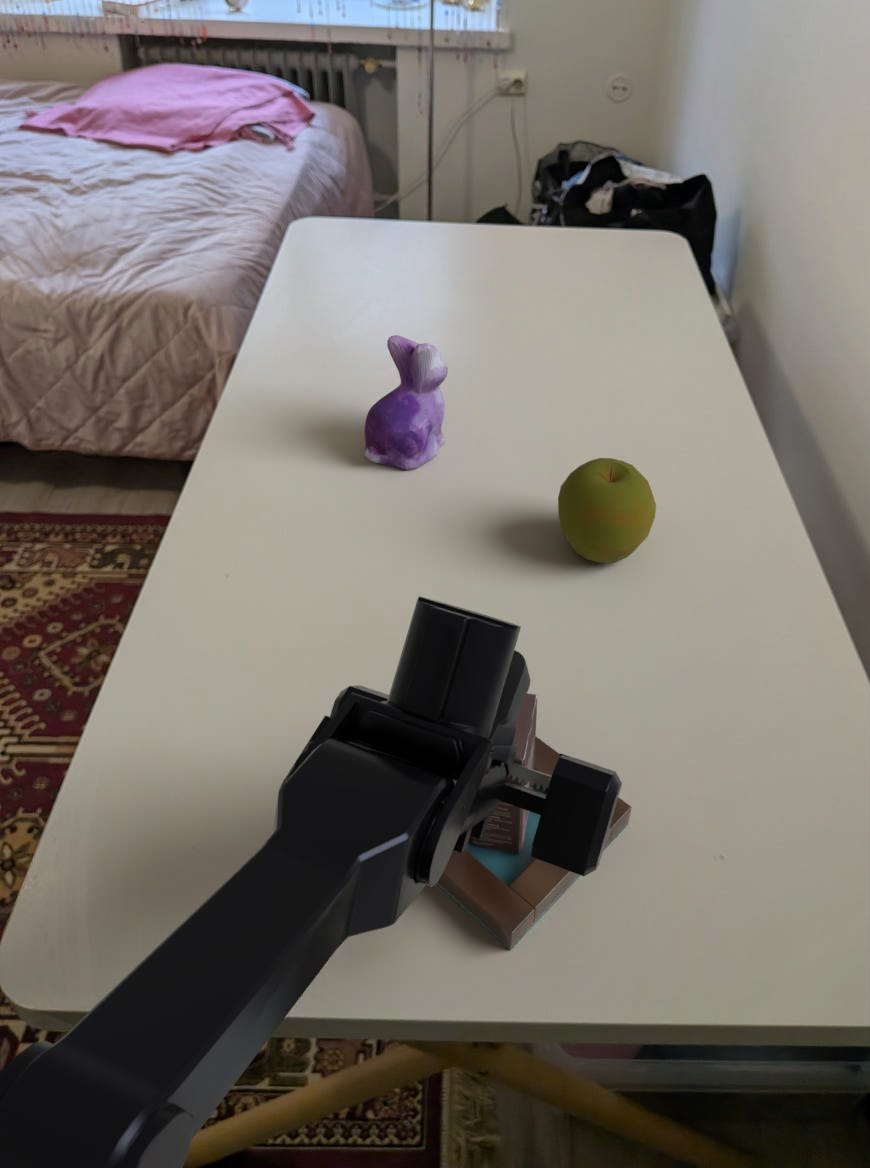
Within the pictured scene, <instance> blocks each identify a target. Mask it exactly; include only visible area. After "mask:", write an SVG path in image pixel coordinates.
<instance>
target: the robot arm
mask: <svg viewBox="0 0 870 1168" xmlns="http://www.w3.org/2000/svg"><path fill="white" fill-rule="evenodd" d="M521 628H522V626H520V625H518V624H515V623H513V622H509V621H506V620H503V619H500V618H497V617H494V616H491V615H487V614H485V613H484V614H483V613H480V612H477V611H473V610H470V609H468V608H464V607H461V606H457V605H453V604H449V603H446V602H442V601H439V600H434V599H431V598H427V597H424V596H418V598H417V599H416V603H415V607H414V610H413V612H412V616H411V620H410V623H409V626H408V629H407V632H406V636H405V639H404V643H403V646H402V650H401V653H400V656H399V659H398V663H397V667H396V669H395V673H394V677H393V680H392V683H391V686H390V690H389V694H387V693H385V692H381V691H379V690H375V689H372V688H370V687H367V686H364V685H361V684H360V685H359V684H358V685H357V684H356V685H349V686H347V687H345V688H344V689H343V690H341V691H340V692H339V693H338V695H337V697H336V698H335V700H334V703H333V705H332V708H331V712H330V715H329V716H328V715H326V714H325V715H324V716H323V717H322V720H321V721H320V723H319V724H318V726H317V727H316V729H315V730H314V732H313V734H312V735H311V737H310V739H309V740H308V741H307V743H306V745H305V746H304V748H303V749H302V751H301V752H300V754H299V756H298V757H297V758H296V760H295V762H294V764H293V765H292V767H291V768H290V769H289V771H288V773H287V775H285V777H284V779H283V781H282V783H281V784H280V787H279V789H278V791H277V792H278V793H277V800H276V807H275V815H274V820H273V829H272V834H270V836H269V837H268V838H267V839H266V840H265V841H264V843H263V844H262V845H261V847H260V848H259V849H258V850H256V851H255V852H254V853H253V855H251V856H250V857H249V858H248V859H247V860H246V861H245V862H244V863H243V864H242V865H241V866H240V867H239V868H238V869H236V871H235V872H233V873H232V875H230V876H229V878H227V879H226V880H225V881H224V882H223V883H222V884H221V885H220V886H219V887H218V888H217V889H216V890H215V891H213V893H212V894H211V895H209V896H208V897H207V898H206V899H205V900H204V901H203V902H202V903H201V904H200V905H199V906H198V907H197V908H196V909H195V910H194V911H193V912H192V913H190V914H189V916H187V918H186V919H184V920H183V921H182V922H181V923H180V924H179V925H178V926H177V927H176V928H175V929H174V930H173V931H172V932H170V934H169V935H168V936H167V937H166V938H165V939H163V941H162V942H161V943H160V944H158V946H156V947H155V948H154V949H152V951H151V952H150V953H149V954H148V955H147V956H146V957H145V958H144V959H143V960H141V961H140V962H139V964H137V966H136V967H134V968H133V969H132V970H131V971H130V972H129V973H128V974H127V975H126V976H125V977H124V978H123V979H122V980H121V981H120V982H119V983H117V985H115V986H114V988H112V990H110V991H109V992H108V993H106V995H105V996H104V997H103V998H102V999H101V1000H100V1001H98V1003H97V1004H95V1006H94V1007H92V1009H91V1010H89V1011H88V1012H87V1013H86V1014H84V1016H83V1017H82V1018H81V1019H80V1020H79V1021H78V1022H77V1023H76V1024H75V1025H74V1026H73V1027H71V1029H69V1031H67V1032H66V1033H65V1034H64V1035H63V1036H62V1037H61V1038H60V1039H59V1040H57V1041H56V1042H55V1043H53V1042H50V1041H48V1040H42V1041H39V1042H35V1043H32V1044H30V1045H29V1046H28V1047H26V1048H25V1049H23V1050H22V1051H21V1052H19V1053H18V1054H16V1055H15V1056H14V1057H13V1058H12V1059H11V1060H10V1061H9V1062H8V1063H7V1064H6V1066H5V1067H4V1068H2V1070H1V1072H0V1168H183V1167H184V1165H185V1162H186V1160H187V1157H188V1154H189V1152H190V1148H191V1143H192V1142H193V1140H194V1138H195V1137H196V1136H197V1134H198V1133H199V1132H200V1130H201V1129H202V1128H203V1126H204V1125H205V1124H206V1123H207V1121H208V1120H209V1118H211V1116H212V1114H213V1113H214V1112H215V1111H216V1109H217V1108H218V1106H219V1105H220V1104H221V1103H222V1102H223V1100H224V1098H225V1097H226V1096H227V1094H228V1093H229V1092H230V1091H231V1090H232V1088H233V1087H234V1086H235V1084H236V1083H237V1082H238V1080H239V1079H240V1078H241V1076H242V1075H243V1074H244V1072H245V1071H246V1070H247V1068H248V1067H249V1066H250V1064H251V1063H252V1062H253V1061H254V1059H255V1058H256V1057H257V1055H258V1053H259V1052H260V1051H261V1050H262V1049H263V1047H264V1046H265V1044H266V1043H267V1042H268V1041H269V1039H270V1038H271V1036H273V1034H274V1032H276V1030H277V1029H278V1028H279V1026H280V1025H281V1023H282V1022H283V1021H284V1019H285V1018H286V1017H287V1015H288V1014H289V1013H290V1011H291V1010H292V1009H293V1008H294V1006H295V1005H296V1004H297V1002H298V1001H299V1000H300V998H301V997H302V996H303V995H304V993H305V992H306V990H307V989H308V988H309V986H310V985H311V984H312V982H313V981H314V980H315V978H316V977H317V976H318V975H319V973H320V972H321V970H322V969H323V968H324V967H325V966H326V964H327V963H328V961H329V960H330V959H331V957H332V956H333V955H334V954H335V952H336V951H337V950H338V949H339V948H340V946H341V945H342V944H343V943H344V942H345V941H346V940H347V939H348V938H350V937H354V936H357V935H361V934H365V933H370V932H374V931H377V930H380V929H385V928H387V927H390V926H393V925H394V924H395V923H396V922H397V921H398V920H399V919H400V918H401V916H402V915H403V914H404V913H405V912H406V911H407V909H408V908H409V907H410V906H411V905H412V904H413V903H414V901H415V900H416V899H417V898H418V896H419V895H420V894H421V893H422V891H423V890H424V888H425V886H427V887H430V888H432V887H434V886H435V885H437V884H436V883H437V882H438V881H439V879H440V877H441V875H442V874H443V872H444V870H445V867H446V865H447V863H448V861H449V858H450V856H451V854H452V851H453V850H455V851H458V852H460V853H462V852H463V851H464V850H466V848H467V844H468V841H469V837H470V836H471V837H474V838H477V839H481V838H482V837H483V836H484V833H485V829H486V826H487V822H488V819H489V816H490V815H491V814H492V813H493V812H494V811H495V810H496V808H497V807H498V806H499V804H500V802H501V801H502V802H505V803H508V804H511V805H513V806H516V807H519V808H522V809H525V810H527V811H530V812H533V813H536V814H538V815H541V816H540V819H539V823H538V826H537V830H536V833H535V837H534V840H533V844H532V851H531V857H533V858H536V859H538V860H541V861H544V862H546V863H549V864H552V865H554V866H557V867H560V868H562V869H565V870H568V871H570V872H573V873H576V874H579V875H580V877H581V876H582V877H586V876H587V875H589V874H591V873H593V872H595V871H596V870H597V869H598V868H599V865H600V863H601V860H602V856H603V853H604V851H603V849H604V846H605V842H606V839H607V835H608V832H609V828H610V824H611V821H612V817H613V814H614V810H615V807H616V803H617V800H618V797H619V796H620V792H621V789H622V785H623V783H622V781H621V779H620V776H619V775H618V773H617V771H616V770H612V769H609V768H606V767H604V766H600V765H598V764H594V763H591V762H588V761H586V760H583V759H581V758H577V757H572V756H571V755H570V756H569V755H566V754H563V753H559V754H560V756H559V759H558V762H557V764H556V766H555V769H554V771H553V774H552V776H550V775H547V774H544V773H542V772H539V771H536V770H533V769H530V768H527V767H524V766H521V765H518V764H516V763H513V761H514V758H515V754H516V751H517V748H518V744H519V743H517V742H514V741H513V740H514V737H515V733H516V730H517V727H516V725H515V723H516V721H517V718H518V715H519V712H520V710H521V707H522V704H523V701H524V698H525V696H526V693H528V691H529V689H530V685H531V676H530V673H529V669H528V664H527V662H526V659H525V657H524V655H523V654H522V653H521V652H519V651H517V650H515V649H516V646H517V643H518V638H519V635H520V632H521ZM511 775H512V781H515V779H516V778H518V783H521V781H522V780H524V785H527V783H528V782H530V787H533V786H534V784H536V789H537V790H538V789H539V788H540V786H542V791H543V792H544V791H545V790H546V789H547V788H548V791H547V795H546V794H543V793H540V792H537V791H535V790H532V789H529V788H526V787H523V786H520V785H517V784H515V783H512V782H509V781H507V779H508V778H509V777H510V776H511Z"/></svg>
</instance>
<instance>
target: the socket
mask: <svg viewBox="0 0 870 1168" xmlns="http://www.w3.org/2000/svg"><path fill="white" fill-rule="evenodd" d="M560 754H561V753H559V752H558V751H557V750H556V749H554V748H553V747H551V746H550V745H549V744H547V743H546V742H544V741H543V740H541V739H540V738H539V737H538V736H536V737H535V757H534V770H536V771H539V772H542V773H544V774H547V775H550V776H552V774H553V771H554V769H555V766H556V764H557V762H558V759H559V756H560ZM533 790H535V791H537V792H540V793H543V794H546V795H547V791H548V788H547V789H546V790H545V791H544V792H543V791H542V786H540V788H539V789H538V790H537V789H536V784H534V786H533ZM631 812H632V806H631V805H630V804H628V803H627V802H626V801H624V800H623V798H620V797H619V796H618V800H617V803H616V807H615V810H614V814H613V817H612V821H611V824H610V828H609V832H608V835H607V839H606V842H605V846H604V849H603V852H604V851H605V850H606V849H607V848H608V847H609V846H610V845H611V844H612V843H613V841H615V839H616V838H617V837H618V836H619V835H620V834H621V833H622V832H623V831H624V830H625V829H626V827H627V826H628V825H629V821H630V817H631ZM540 816H541V815H538V814H536V813H533V812H529V817H528V823H527V827H526V832H525V838H524V842H523V847H522V851H521V853H520V854H518V853H510V852H505V851H500V850H495V849H490V848H485V847H480V846H475V845H471V844H469V841H468V844H467V848H466V850H464V851H463V852H462V853H460V852H458V851H455V850H453V851H452V854H451V856H450V858H449V861H448V863H447V865H446V867H445V870H444V872H443V874H442V875H441V877H440V879H439V881H438V882H437V883H436V884H435V885H437V886H438V887H439V888H440V889H441V890H442V891H443V892H445V893H446V894H447V895H448V896H449V897H450V898H451V899H453V901H455V902H456V903H457V904H458V905H459V906H460V907H461V908H463V909H464V910H465V911H466V913H468V914H469V915H470V916H471V917H472V918H474V920H475V921H476V922H478V923H479V924H480V925H481V926H482V927H483V928H484V929H486V930H487V931H488V932H489V933H490V934H491V935H492V936H493V937H494V938H495V939H497V940H498V941H499V942H500V943H501V944H502V945H503V946H504V947H505V948H507V950H509V951H511V950H513V949H514V948H515V946H516V945H517V944H518V943H519V942H520V941H521V940H522V939H523V938H524V937H525V936H526V934H528V933H529V931H530V930H531V929H532V928H534V926H535V925H536V924H537V923H538V922H539V921H540V920H541V919H542V918H543V916H544V915H545V914H547V912H548V911H549V910H550V909H551V908H552V907H553V905H554V904H555V903H556V902H557V901H558V900H559V899H560V898H561V897H562V896H563V895H564V894H565V893H566V891H568V890H569V888H570V887H571V886H573V885H574V883H575V882H576V881H577V880H578V879H579V878H580V877H581V875H579V874H576V873H573V872H570V871H568V870H565V869H562V868H560V867H557V866H554V865H552V864H549V863H546V862H544V861H541V860H538V859H536V858H533V857H531V851H532V844H533V840H534V837H535V833H536V830H537V826H538V823H539V819H540Z"/></svg>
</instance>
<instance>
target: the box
mask: <svg viewBox="0 0 870 1168" xmlns="http://www.w3.org/2000/svg"><path fill="white" fill-rule="evenodd" d="M537 716H538V695H537V694H534V693H528V692H527V693H526V696H525V698H524V701H523V704H522V707H521V710H520V712H519V715H518V718H517V721H516V723H515V725H516V727H517V730H516V733H515V737H514V740H513V741H514V742H517V743H519V744H518V748H517V751H516V754H515V758H514V761H513V763H516V764H518V765H521V766H524V767H527V768H530V769H533V770H534V757H535V737H537V734H536V733H537ZM507 781H509V782H512V783H515V784H517V785H520V786H523V787H526V788H529V789H532V790H533V787H530V782H528V783H527V785H524V780H522V781H521V783H518V778H516V779H515V781H512V775H511V776H510V777H509V778H508V779H507ZM529 812H530V811H527V810H525V809H522V808H519V807H516V806H513V805H511V804H508V803H505V802H502V801H501V802H500V804H499V806H498V807H497V808H496V810H495V811H494V812H493V813H492V814H491V815H490V816H489V819H488V822H487V826H486V829H485V833H484V836H483V837H482V838H481V839H477V838H474V837H471V836H470V837H469V844H471V845H475V846H480V847H485V848H490V849H495V850H500V851H505V852H510V853H518V854H520V853H521V851H522V847H523V842H524V838H525V832H526V827H527V823H528V817H529Z"/></svg>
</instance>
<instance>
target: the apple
mask: <svg viewBox="0 0 870 1168" xmlns="http://www.w3.org/2000/svg"><path fill="white" fill-rule="evenodd" d="M557 510H558V511H557V512H558V513H557V515H558V521H559V524H560V527H561V529H562V532H563V535H564V536H565V538H566V540H567V543H568V545H569V546H570V547H571V548H572V550H573V551H574V552H575V554H578V556H580V557H582V558H584V559H585V560H588V561H592V562H596V563H604V564H605V563H617V562H619V561H622V560H624V559H627V558H628V557H629V556H630V555H631V554H633V553H634V552H635V551H636V550H637V549H638V548H639V547H640V546H641V544H642V543H643V542H644V541H645V540H646V539H647V538H648V537H649V534H650V532H651V530H652V526H653V525H654V522H655V518H656V512H657V511H656V510H657V504H656V500H655V496H654V494H653V491H652V488H651V485H650V483H649V480H648V479H647V478H646V477H645V476H644V475H643V474H642V473H641V472H640V471H639V470H638V469H637V468H636V467H635V466H634V465H633V464H631V463H628V462H626V461H623V460H620V459H616V458H613V457H612V458H611V457H599V458H594V459H591V460H589V461H586V462H585V463H583V464H581V465H579V466H578V467H576V468H575V469H574V470H572V471H571V472H570V473H569V475H568V476H567V477H566V479H565V480H564V482H563V483H562V484H561V485H560V488H559V492H558V497H557Z"/></svg>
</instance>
